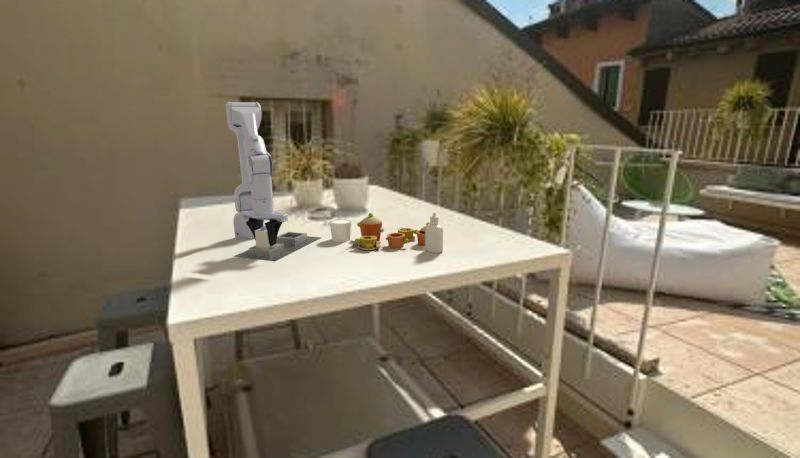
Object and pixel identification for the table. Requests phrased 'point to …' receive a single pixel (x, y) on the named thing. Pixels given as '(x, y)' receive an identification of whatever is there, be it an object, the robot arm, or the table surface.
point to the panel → (280, 247)
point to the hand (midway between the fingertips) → (266, 244)
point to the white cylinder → (340, 230)
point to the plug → (262, 239)
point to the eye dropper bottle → (434, 236)
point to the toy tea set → (372, 233)
